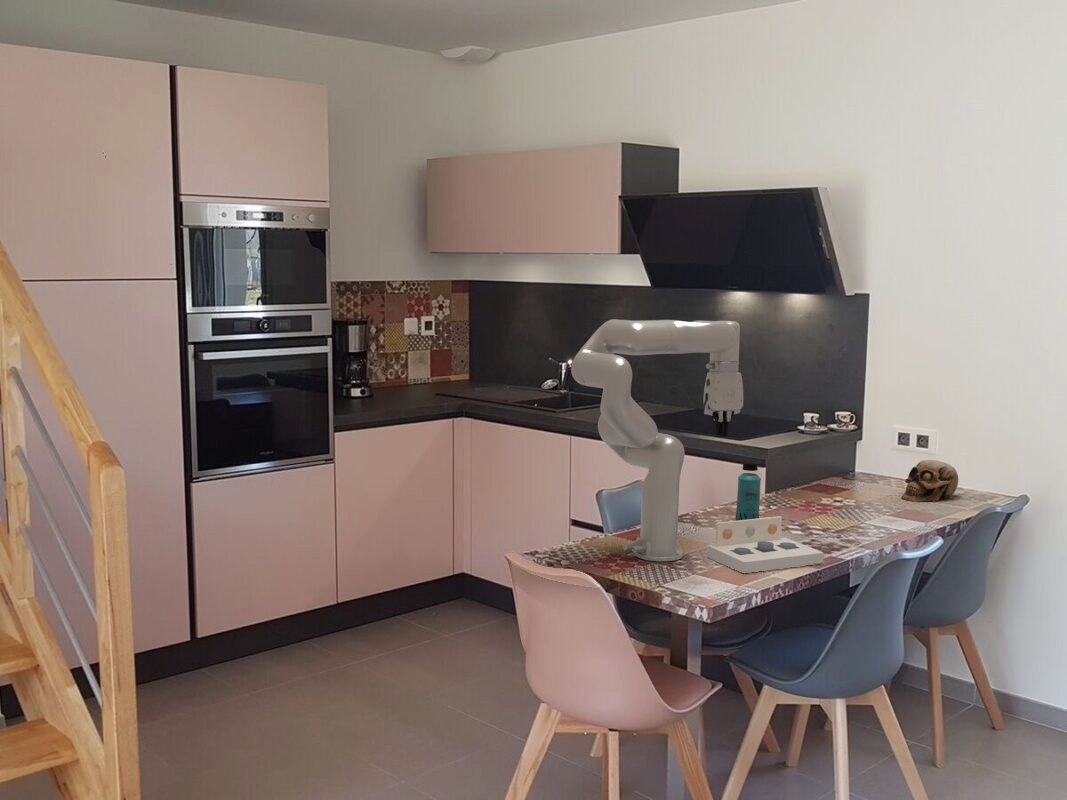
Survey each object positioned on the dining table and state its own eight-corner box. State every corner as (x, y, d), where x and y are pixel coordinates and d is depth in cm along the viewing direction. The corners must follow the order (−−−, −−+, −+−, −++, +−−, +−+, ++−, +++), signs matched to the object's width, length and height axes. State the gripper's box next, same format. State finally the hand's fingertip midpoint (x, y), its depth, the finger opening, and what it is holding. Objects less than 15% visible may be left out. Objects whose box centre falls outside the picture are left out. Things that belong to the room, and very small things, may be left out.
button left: (739, 564, 267) (740, 552, 267) (730, 560, 271) (731, 548, 271) (753, 562, 269) (753, 551, 269) (743, 558, 273) (744, 547, 272)
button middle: (763, 557, 270) (763, 546, 270) (753, 553, 274) (754, 542, 273) (776, 556, 272) (776, 544, 271) (766, 552, 275) (767, 540, 275)
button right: (785, 558, 273) (786, 547, 273) (776, 554, 277) (776, 543, 276) (798, 557, 275) (799, 545, 274) (788, 553, 278) (789, 541, 278)
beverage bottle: (730, 530, 304) (733, 460, 301) (750, 528, 306) (753, 459, 303) (742, 535, 297) (745, 464, 295) (763, 534, 300) (766, 463, 297)
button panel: (743, 574, 261) (745, 538, 260) (707, 557, 275) (708, 523, 274) (823, 564, 271) (825, 529, 269) (783, 548, 285) (785, 515, 284)
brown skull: (899, 499, 346) (904, 458, 345) (908, 495, 361) (913, 455, 361) (950, 507, 339) (955, 465, 338) (957, 502, 354) (962, 462, 353)
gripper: (707, 369, 278) (705, 439, 280) (755, 368, 284) (752, 436, 286) (692, 366, 285) (689, 435, 287) (739, 365, 291) (736, 432, 293)
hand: (721, 435), depth 287 cm, fingers closed
